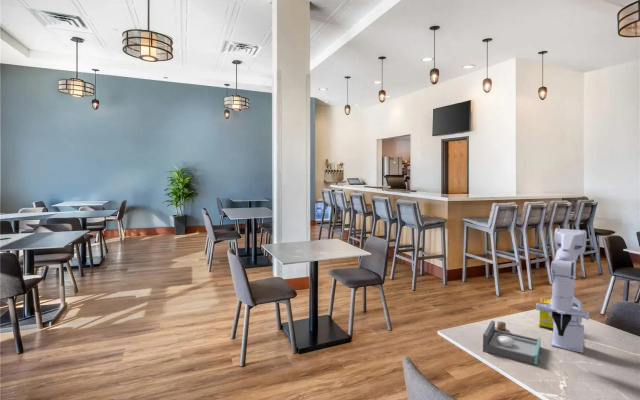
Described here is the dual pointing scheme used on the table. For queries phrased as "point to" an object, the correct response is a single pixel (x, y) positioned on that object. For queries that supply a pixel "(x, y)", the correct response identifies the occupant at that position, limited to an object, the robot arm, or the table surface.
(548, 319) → the supplement box
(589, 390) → the table surface
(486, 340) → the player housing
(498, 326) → the disc stand
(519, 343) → the tray
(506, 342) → the white round dome
